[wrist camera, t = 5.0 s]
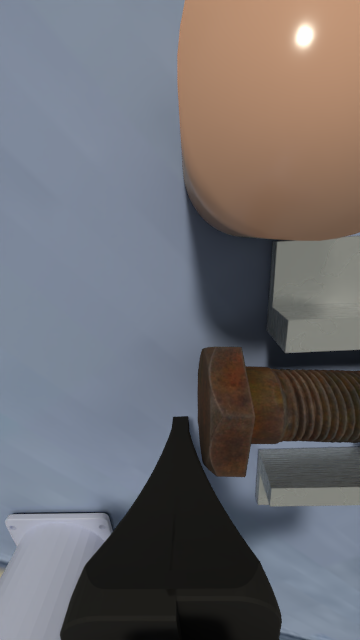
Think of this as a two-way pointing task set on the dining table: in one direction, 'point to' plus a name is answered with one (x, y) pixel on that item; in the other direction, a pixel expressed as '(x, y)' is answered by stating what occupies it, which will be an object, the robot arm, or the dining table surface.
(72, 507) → the dining table surface
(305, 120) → the tan rounded block
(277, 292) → the bracket
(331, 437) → the bolt
